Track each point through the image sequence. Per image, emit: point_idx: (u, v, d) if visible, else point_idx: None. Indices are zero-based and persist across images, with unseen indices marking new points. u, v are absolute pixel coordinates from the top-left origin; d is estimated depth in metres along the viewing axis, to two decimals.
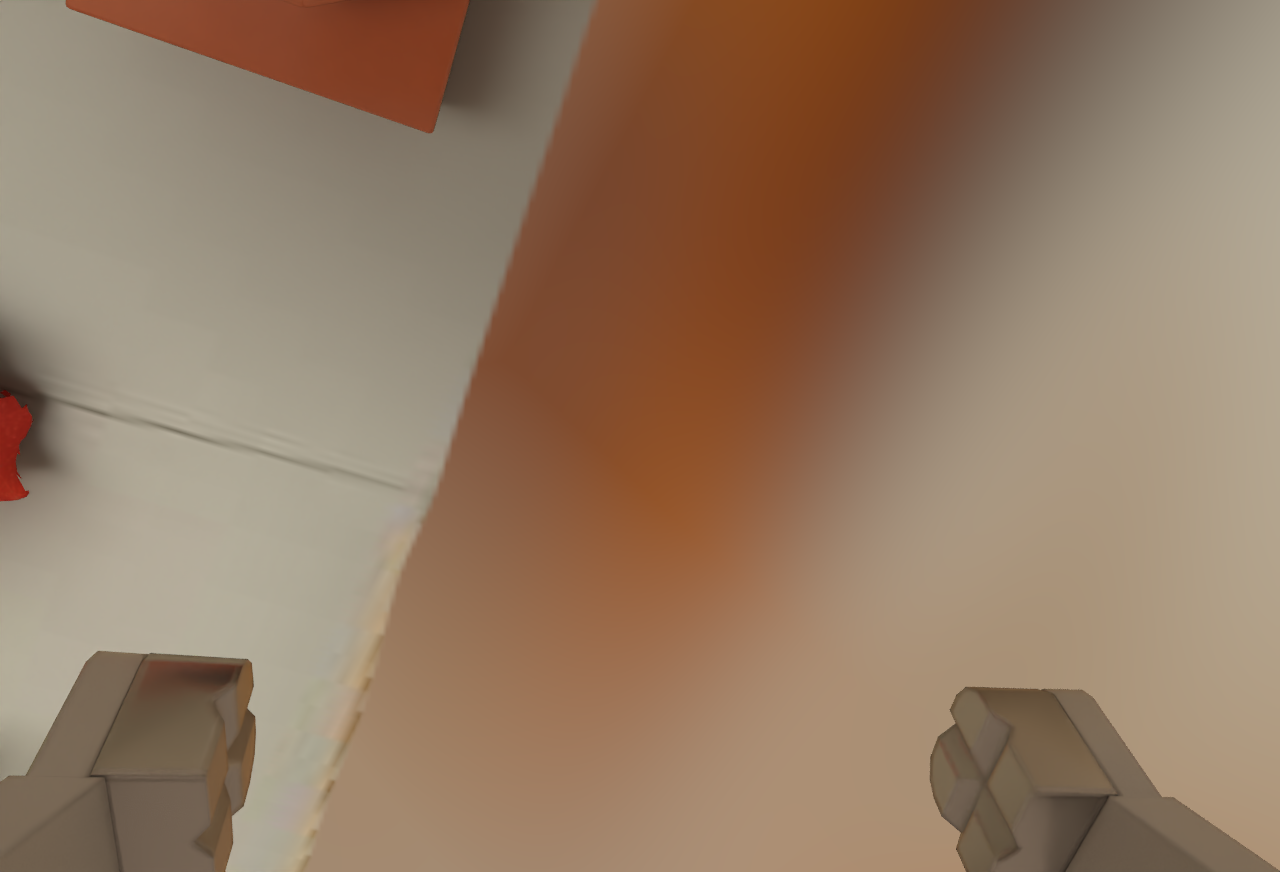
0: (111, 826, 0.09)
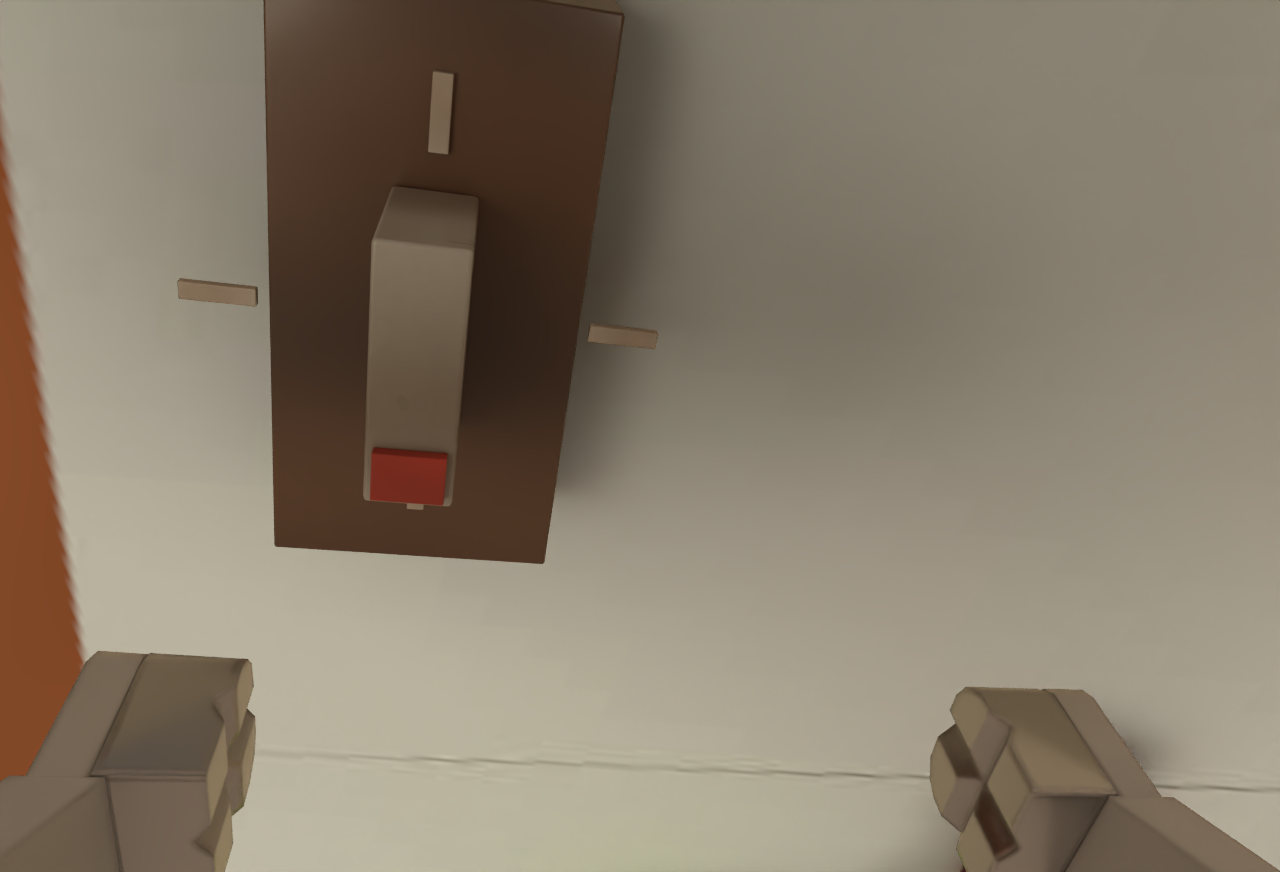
0: (111, 826, 0.09)
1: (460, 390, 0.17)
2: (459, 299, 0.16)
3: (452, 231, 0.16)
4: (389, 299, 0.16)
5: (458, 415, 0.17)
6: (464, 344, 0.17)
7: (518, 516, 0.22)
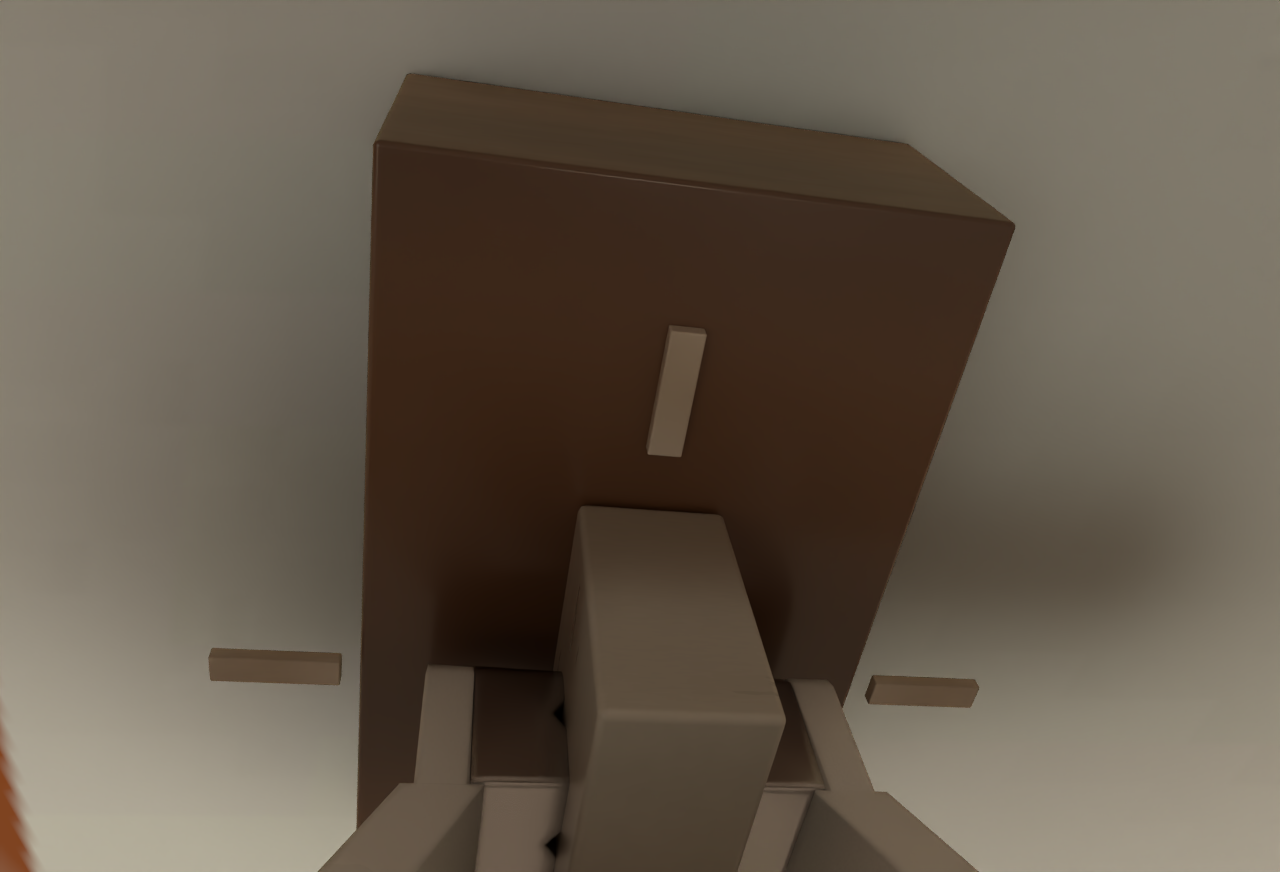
0: (478, 830, 0.09)
1: None
2: (747, 791, 0.08)
3: (727, 650, 0.09)
4: (620, 798, 0.08)
5: None
6: (744, 848, 0.09)
7: None
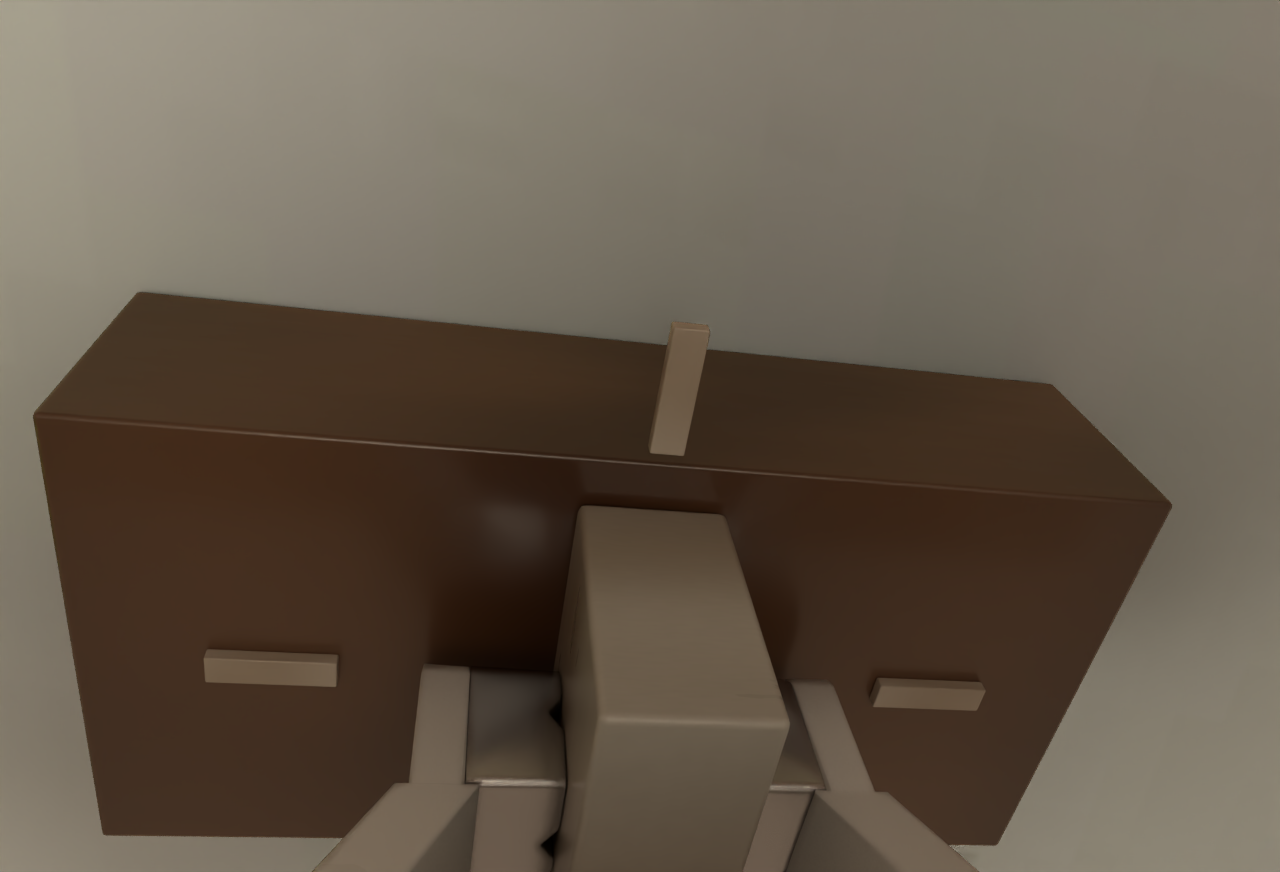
0: (473, 830, 0.09)
1: None
2: (750, 795, 0.08)
3: (730, 652, 0.09)
4: (620, 803, 0.08)
5: None
6: (747, 853, 0.09)
7: (211, 798, 0.12)
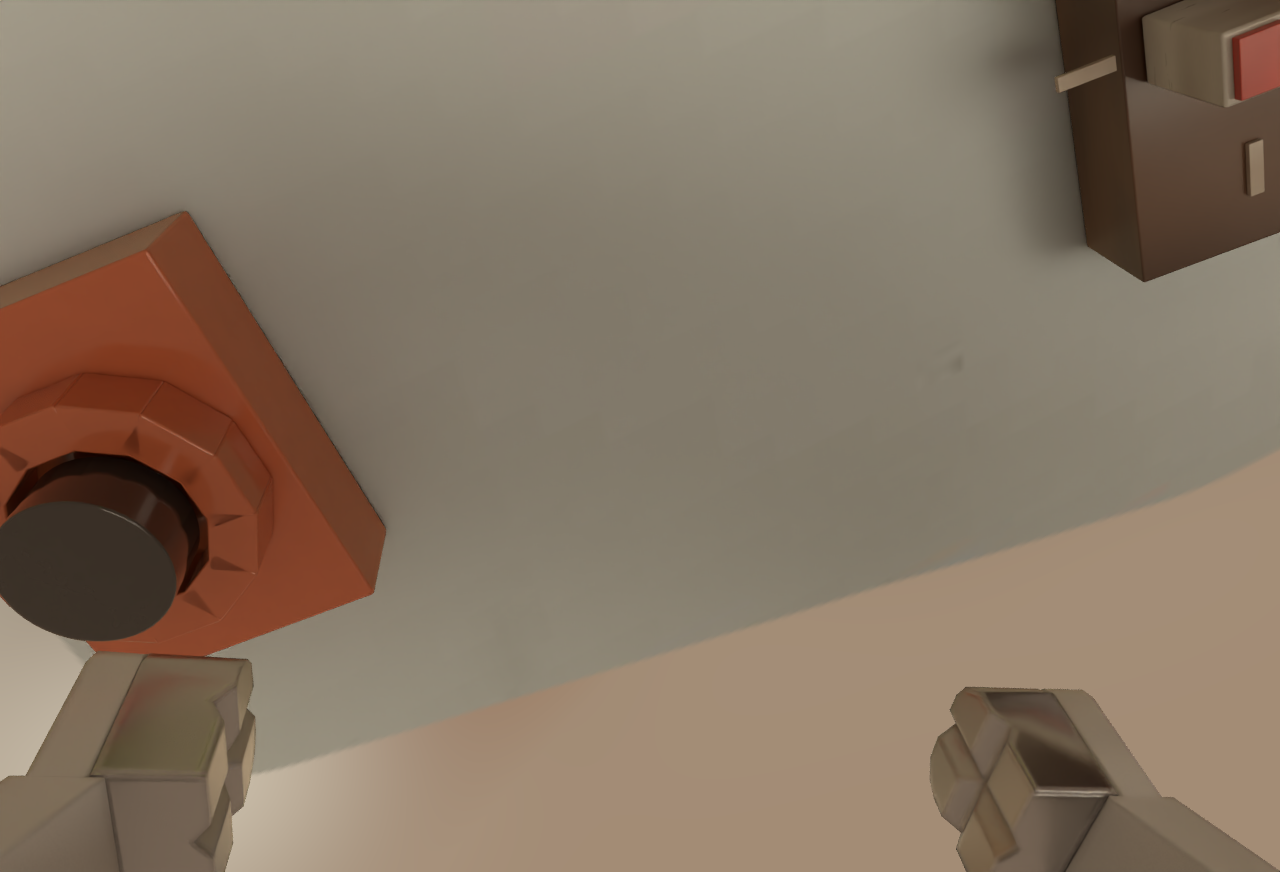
0: (111, 826, 0.09)
1: None
2: None
3: None
4: None
5: None
6: None
7: None
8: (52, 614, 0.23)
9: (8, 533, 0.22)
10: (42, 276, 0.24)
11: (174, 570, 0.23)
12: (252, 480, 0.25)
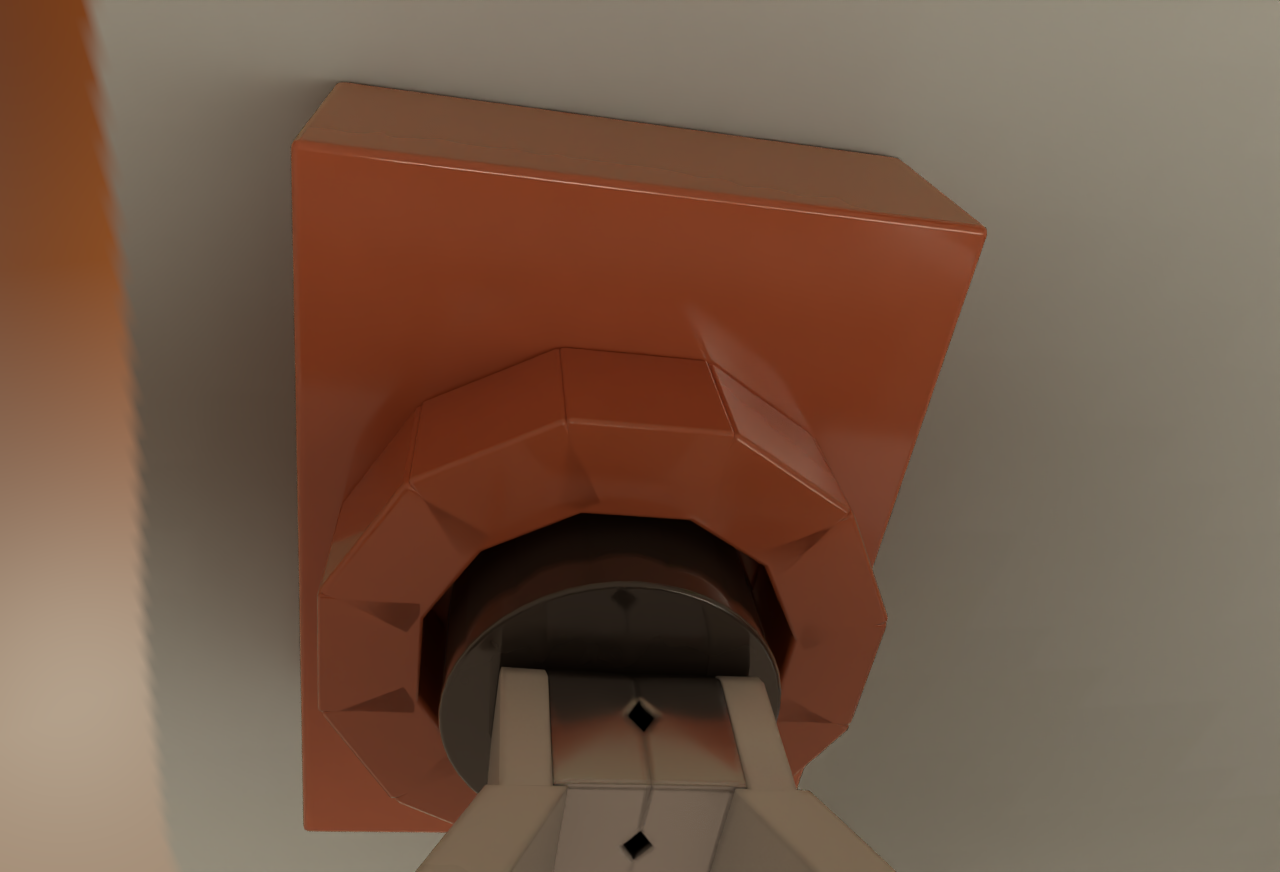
0: (558, 831, 0.09)
1: None
2: None
3: None
4: None
5: None
6: None
7: None
8: None
9: (566, 608, 0.10)
10: (668, 145, 0.13)
11: None
12: None
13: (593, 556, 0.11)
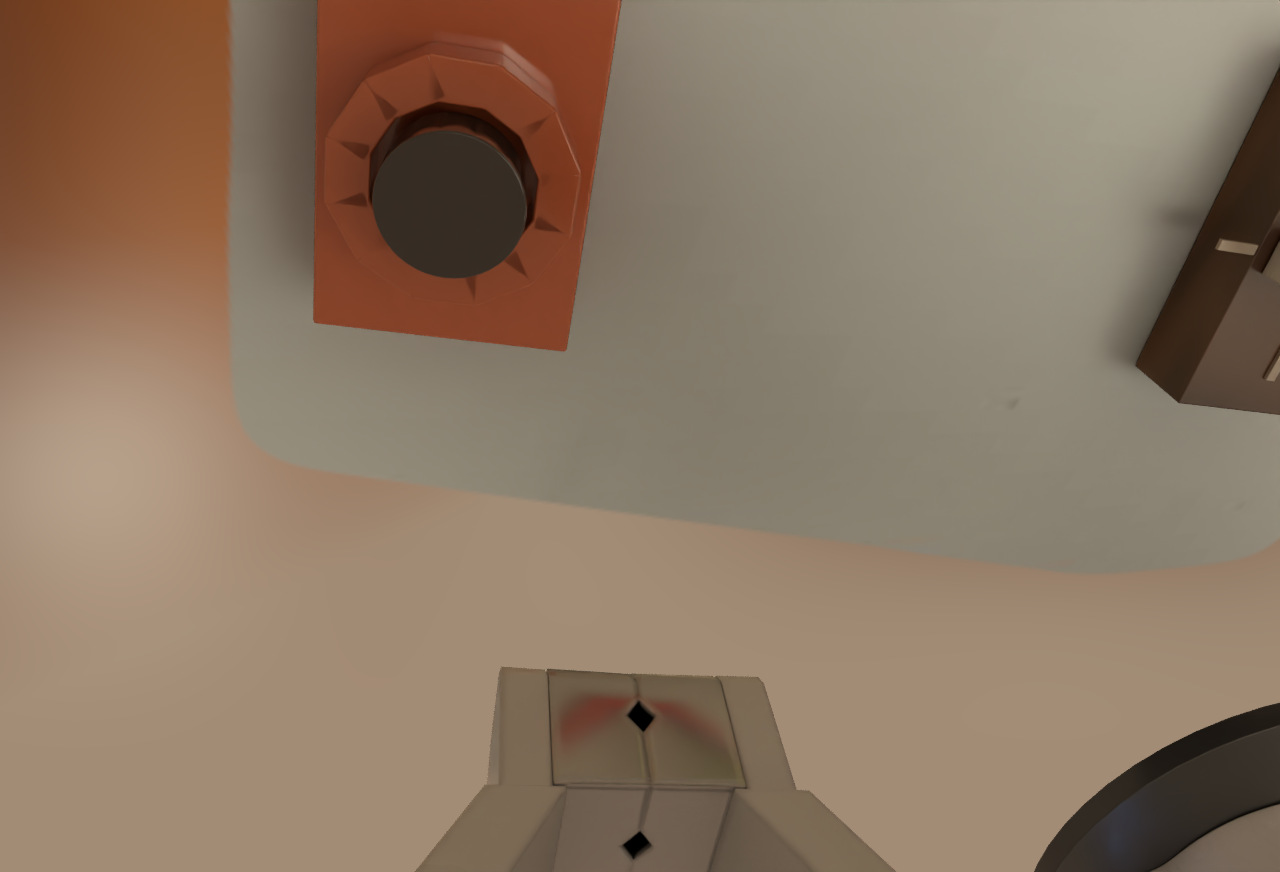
0: (557, 831, 0.09)
1: None
2: None
3: None
4: None
5: None
6: None
7: None
8: (399, 225, 0.26)
9: (425, 142, 0.25)
10: None
11: (517, 243, 0.26)
12: None
13: (439, 125, 0.25)
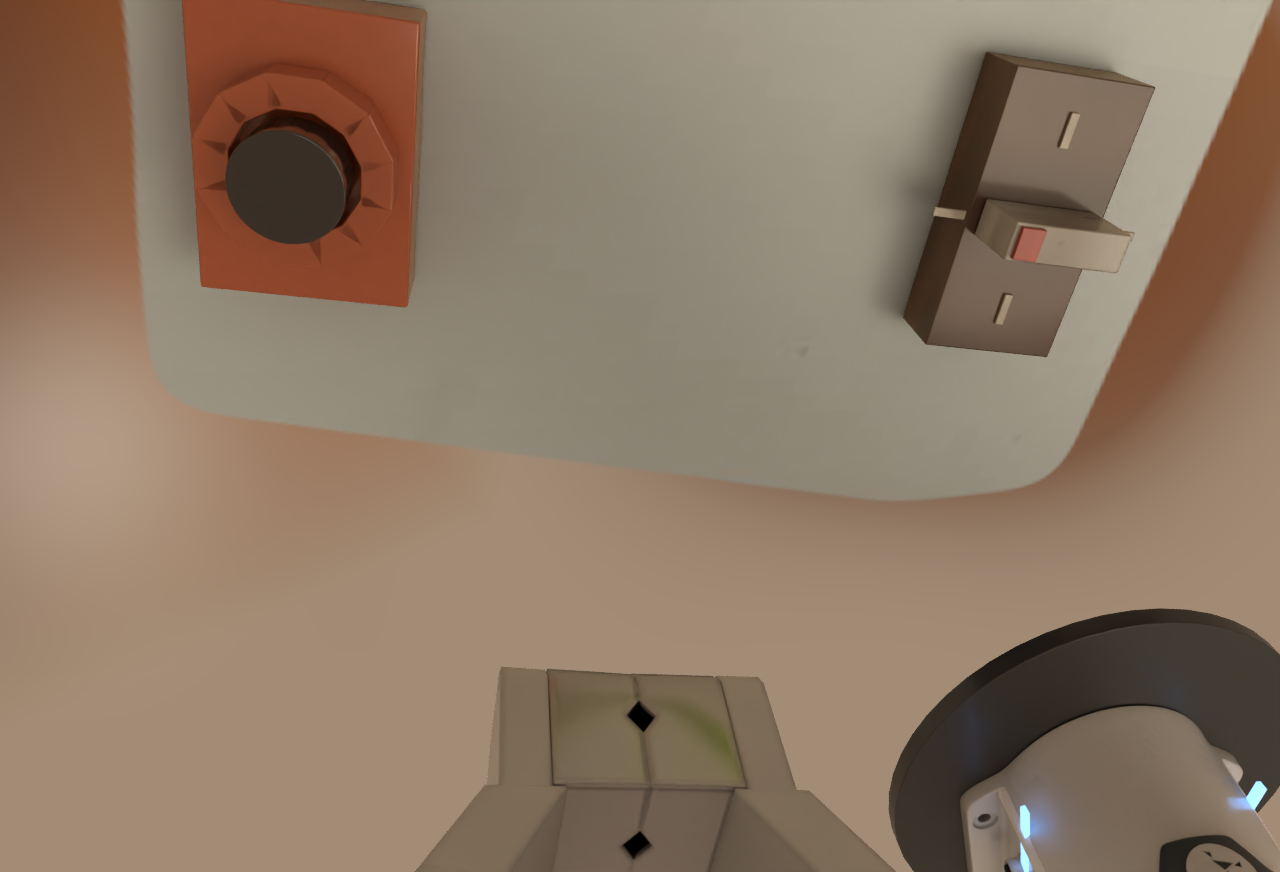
0: (558, 831, 0.09)
1: (1060, 266, 0.39)
2: (1100, 267, 0.39)
3: None
4: (1107, 241, 0.39)
5: None
6: (1079, 268, 0.39)
7: (1023, 102, 0.39)
8: (247, 203, 0.34)
9: (261, 139, 0.33)
10: None
11: (341, 216, 0.34)
12: (395, 191, 0.37)
13: (273, 126, 0.33)
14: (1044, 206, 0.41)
